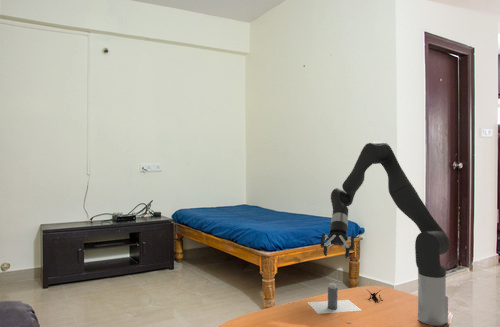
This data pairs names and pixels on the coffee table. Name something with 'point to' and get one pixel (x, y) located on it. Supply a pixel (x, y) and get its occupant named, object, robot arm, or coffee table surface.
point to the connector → (332, 296)
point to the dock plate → (342, 307)
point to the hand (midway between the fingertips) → (335, 256)
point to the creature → (374, 296)
